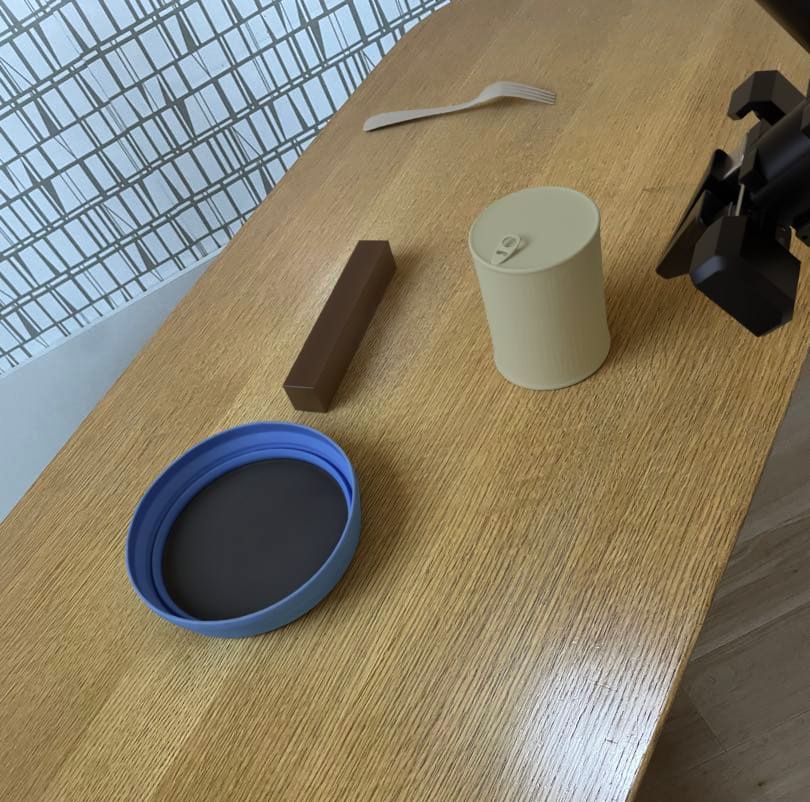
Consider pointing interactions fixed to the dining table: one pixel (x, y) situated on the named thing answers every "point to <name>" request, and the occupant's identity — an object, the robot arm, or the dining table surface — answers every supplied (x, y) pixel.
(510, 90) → the fork
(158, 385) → the dining table surface
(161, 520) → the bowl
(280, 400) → the dining table surface
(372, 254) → the rail
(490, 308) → the can
